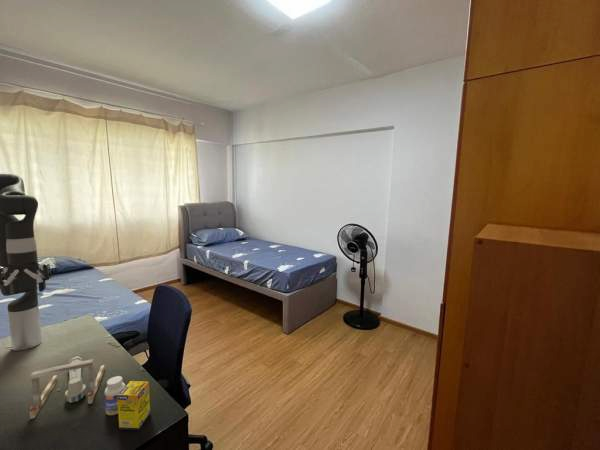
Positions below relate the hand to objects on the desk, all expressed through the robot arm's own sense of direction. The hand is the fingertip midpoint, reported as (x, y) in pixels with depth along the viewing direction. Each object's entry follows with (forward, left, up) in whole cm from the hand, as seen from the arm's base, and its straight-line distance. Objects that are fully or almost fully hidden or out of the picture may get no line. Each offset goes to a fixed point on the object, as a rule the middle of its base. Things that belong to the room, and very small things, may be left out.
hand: (26, 292), depth 99 cm
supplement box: (+44, +38, -30) cm, 66 cm away
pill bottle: (+36, +32, -30) cm, 57 cm away
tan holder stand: (+21, +17, -30) cm, 40 cm away
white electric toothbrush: (+16, +17, -31) cm, 38 cm away
